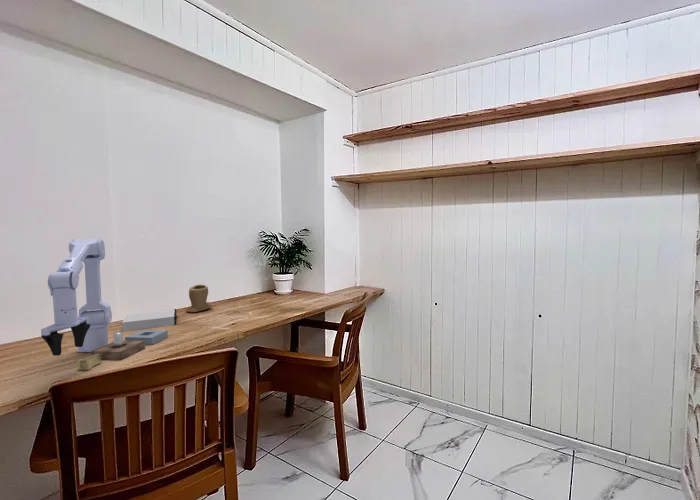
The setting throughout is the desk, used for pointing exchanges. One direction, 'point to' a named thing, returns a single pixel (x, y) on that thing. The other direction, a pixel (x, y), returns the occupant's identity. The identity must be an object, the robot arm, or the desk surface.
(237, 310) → the desk surface
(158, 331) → the block
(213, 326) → the desk surface
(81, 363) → the key
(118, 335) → the grey peg
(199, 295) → the stone cup
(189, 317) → the desk surface
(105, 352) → the socket block
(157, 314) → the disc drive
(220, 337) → the desk surface
